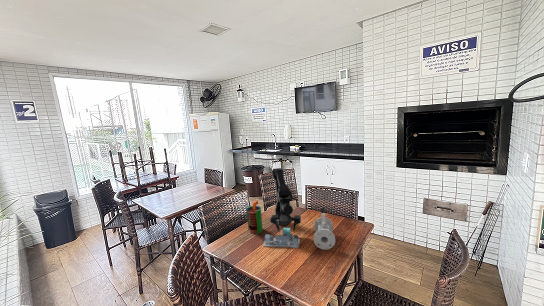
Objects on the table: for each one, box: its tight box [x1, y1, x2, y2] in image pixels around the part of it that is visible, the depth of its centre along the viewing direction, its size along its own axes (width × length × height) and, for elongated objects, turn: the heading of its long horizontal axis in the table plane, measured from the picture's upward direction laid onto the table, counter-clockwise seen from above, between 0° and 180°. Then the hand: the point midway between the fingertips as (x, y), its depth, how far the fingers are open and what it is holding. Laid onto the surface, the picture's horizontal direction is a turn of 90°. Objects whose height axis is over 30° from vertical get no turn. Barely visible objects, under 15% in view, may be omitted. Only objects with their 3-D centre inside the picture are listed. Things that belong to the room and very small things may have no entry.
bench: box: [262, 234, 301, 249], centre depth 131 cm, size 8×21×5 cm, turn 79°
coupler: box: [281, 227, 292, 236], centre depth 139 cm, size 4×8×4 cm, turn 169°
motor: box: [246, 200, 263, 235], centre depth 148 cm, size 10×9×20 cm
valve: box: [313, 208, 336, 251], centre depth 132 cm, size 22×12×15 cm, turn 168°
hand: (286, 231), depth 139 cm, fingers open, 9 cm apart
